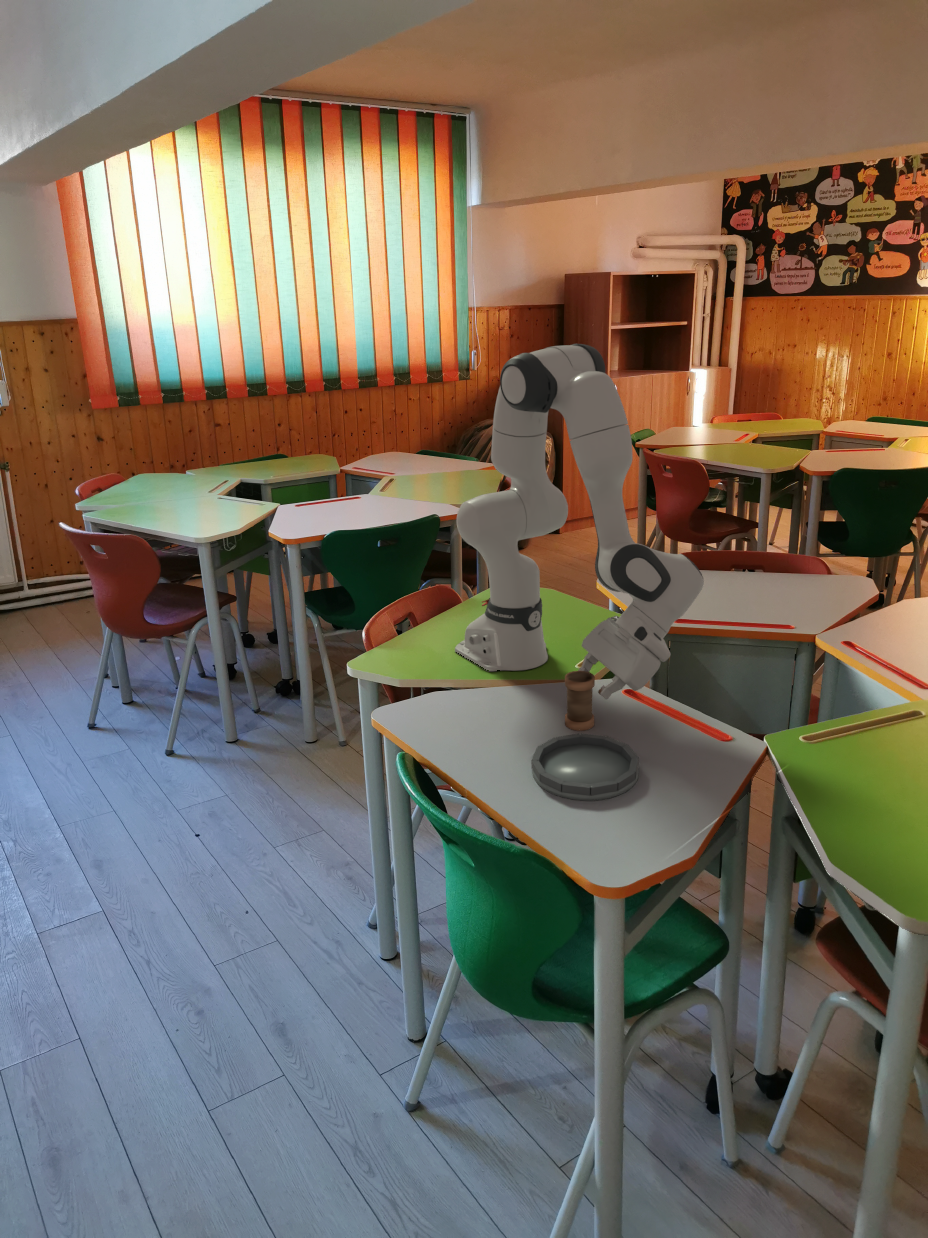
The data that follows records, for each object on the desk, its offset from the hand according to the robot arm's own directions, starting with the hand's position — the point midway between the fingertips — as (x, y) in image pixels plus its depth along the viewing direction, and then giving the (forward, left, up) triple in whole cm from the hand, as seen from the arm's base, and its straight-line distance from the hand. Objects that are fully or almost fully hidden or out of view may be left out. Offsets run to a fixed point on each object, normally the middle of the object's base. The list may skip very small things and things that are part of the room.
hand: (590, 686), depth 169 cm
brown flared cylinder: (-1, -2, -8) cm, 8 cm away
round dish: (+11, -15, -8) cm, 20 cm away
